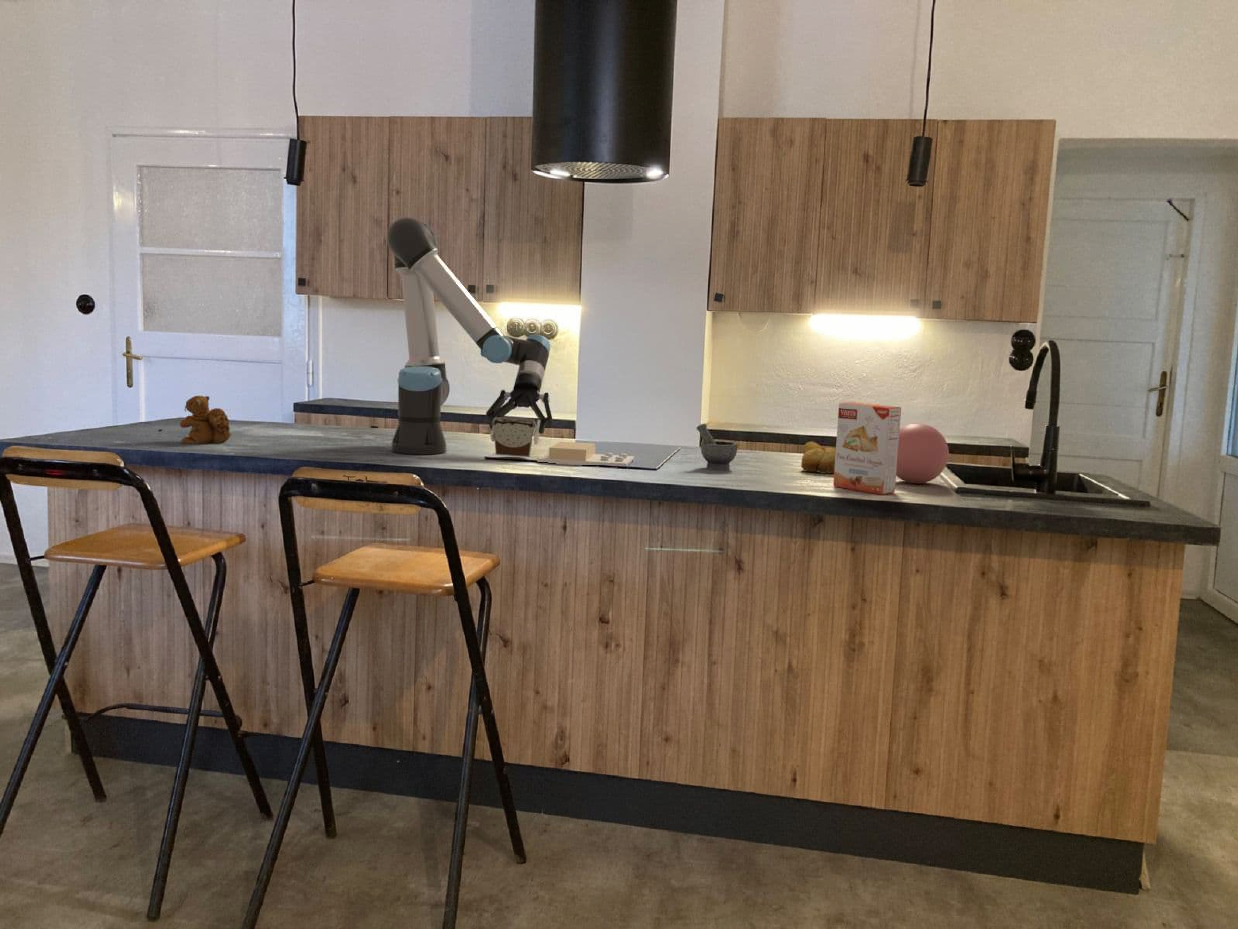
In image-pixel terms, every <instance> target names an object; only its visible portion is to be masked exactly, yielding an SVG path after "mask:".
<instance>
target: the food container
mask: <svg viewBox="0 0 1238 929" xmlns="http://www.w3.org/2000/svg"><path fill="white" fill-rule="evenodd" d="M492 425H494V437H495V442H494V449H495V450H494V451H495V452H494V453H495V455H496V456H507V457H508V456H511V457H524V458H525V457H526V458H530V456H531V450H532V445H533V444H532V442H533V438H534V431H535V430H534V429H536V425H537V422H536V421H535V419H533V418H527V417H515V416H514V417H513V416H511V417H510V416H503V417H496V418H494V419H493V421H492Z"/></svg>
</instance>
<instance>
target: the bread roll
mask: <svg viewBox="0 0 1238 929" xmlns="http://www.w3.org/2000/svg"><path fill="white" fill-rule="evenodd" d="M802 452H803V455H802V457H801V464H800V466H801V468H802V470H803V471H805V472H809V473H819V474H834V469H835V455H836V447H831V446H827V447H823V446H822V445H820V444H818V443H817V442H815V441H813V440H812V441H808V442H806V443H805V444H804V446H803V451H802Z"/></svg>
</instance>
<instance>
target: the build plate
mask: <svg viewBox="0 0 1238 929" xmlns="http://www.w3.org/2000/svg"><path fill="white" fill-rule="evenodd" d="M633 459H634V460H635V456H634V455H628V453H619V454H618V455H617V454H613V452H605V453H604V454H602V453H601V454H599V453H596V443H590V442H588V443H587V442H572V441H571V442H570V441H559V442H557V443H555V444H553V445H551V446H550V447H548V452H547V453H545V454H543V455H541V456H539V457H538V458H537V460H536V461H537V462H548V463H556V464H555V465H568V466H582V465H610V466H627V465H628V464H629V463H630V462H631V461H632V460H633ZM548 463H547V464H548Z"/></svg>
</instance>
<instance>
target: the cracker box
mask: <svg viewBox="0 0 1238 929" xmlns="http://www.w3.org/2000/svg"><path fill="white" fill-rule="evenodd" d="M901 416H902V407H900V406H893V405H884V404H883V405H881V404H875V403H867V402H866V403H863V402H854V401H843V402H839V403H838V415H837V427H836V443H835V449H836V455H835V469H834V473H833V484H832V485H833V487H836V488H841V489H848V490H854V491H859V492H865V493H871V494H875V495H881V496H882V495H883V496H884V495H887V494H889V495H890V494H895V491H896V481H897V476H896V471H897V458H898V445H899V431H900V428H901Z"/></svg>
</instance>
